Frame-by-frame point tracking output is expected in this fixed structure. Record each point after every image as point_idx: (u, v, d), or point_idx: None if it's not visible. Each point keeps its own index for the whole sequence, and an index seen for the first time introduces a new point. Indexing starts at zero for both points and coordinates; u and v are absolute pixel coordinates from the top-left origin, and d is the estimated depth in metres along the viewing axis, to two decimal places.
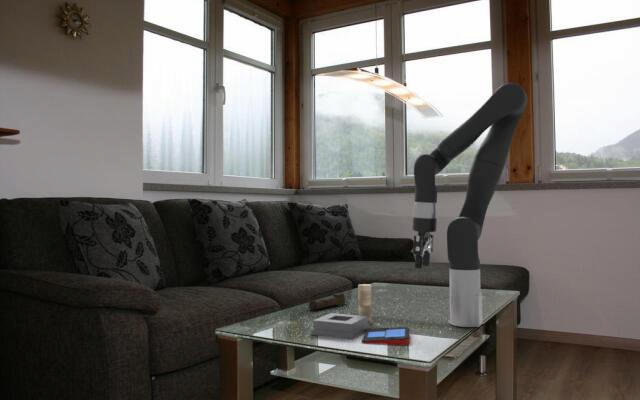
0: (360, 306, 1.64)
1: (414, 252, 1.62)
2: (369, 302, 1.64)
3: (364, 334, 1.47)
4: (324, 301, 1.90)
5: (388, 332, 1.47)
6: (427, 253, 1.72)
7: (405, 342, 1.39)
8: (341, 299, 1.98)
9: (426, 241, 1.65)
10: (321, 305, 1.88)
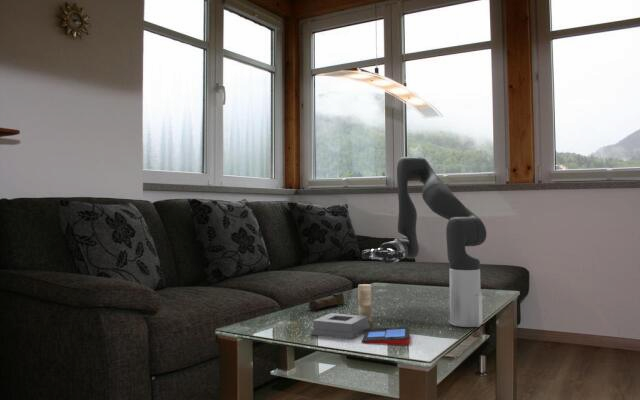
0: (360, 306, 1.64)
1: None
2: (369, 302, 1.64)
3: (364, 334, 1.47)
4: (324, 301, 1.90)
5: (388, 332, 1.47)
6: None
7: (405, 342, 1.39)
8: (340, 299, 1.98)
9: (378, 249, 1.84)
10: (321, 305, 1.88)
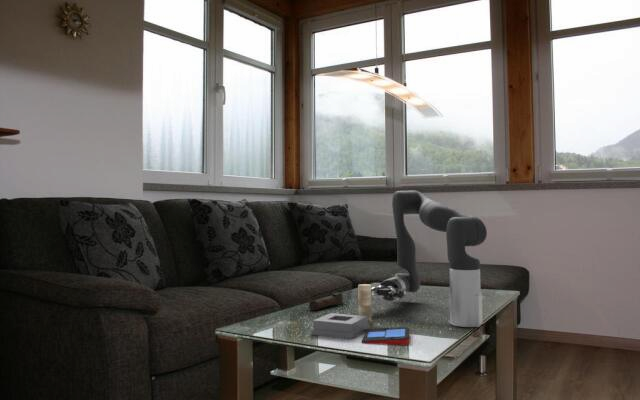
0: (360, 306, 1.64)
1: None
2: (369, 302, 1.64)
3: (364, 334, 1.47)
4: (324, 301, 1.90)
5: (388, 332, 1.47)
6: None
7: (405, 342, 1.39)
8: (339, 299, 1.98)
9: (378, 286, 1.84)
10: (321, 305, 1.88)
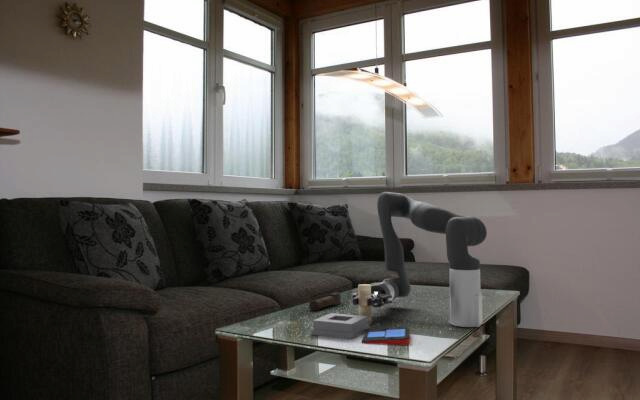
0: (360, 306, 1.64)
1: None
2: None
3: (364, 334, 1.47)
4: (324, 301, 1.90)
5: (388, 332, 1.47)
6: None
7: (405, 342, 1.39)
8: (338, 299, 1.99)
9: None
10: (321, 305, 1.89)
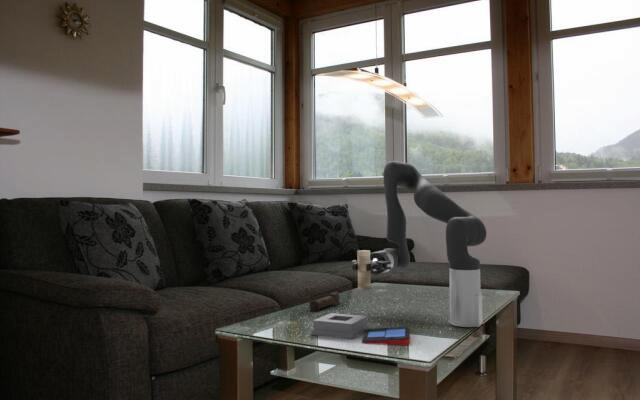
0: (359, 271, 1.64)
1: None
2: None
3: (364, 334, 1.47)
4: (324, 301, 1.90)
5: (388, 332, 1.47)
6: None
7: (405, 342, 1.39)
8: (337, 298, 1.99)
9: None
10: (321, 305, 1.89)
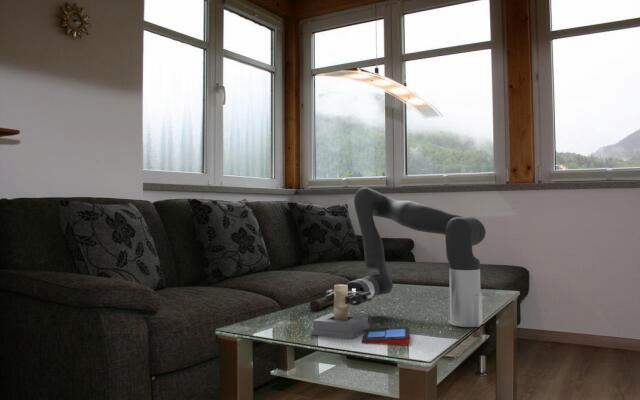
0: (336, 308, 1.53)
1: None
2: (345, 304, 1.53)
3: (364, 334, 1.47)
4: (323, 301, 1.90)
5: (388, 332, 1.47)
6: None
7: (405, 342, 1.39)
8: None
9: None
10: (322, 305, 1.89)
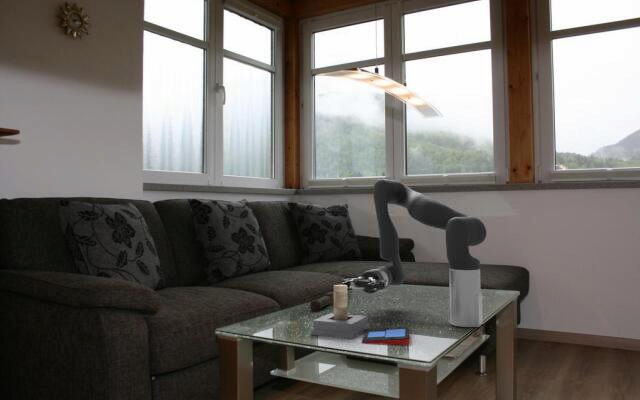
0: (335, 308, 1.53)
1: None
2: (345, 304, 1.52)
3: (364, 334, 1.47)
4: (323, 301, 1.91)
5: (388, 332, 1.47)
6: None
7: (405, 342, 1.39)
8: (333, 298, 2.00)
9: (358, 278, 1.72)
10: (322, 305, 1.89)
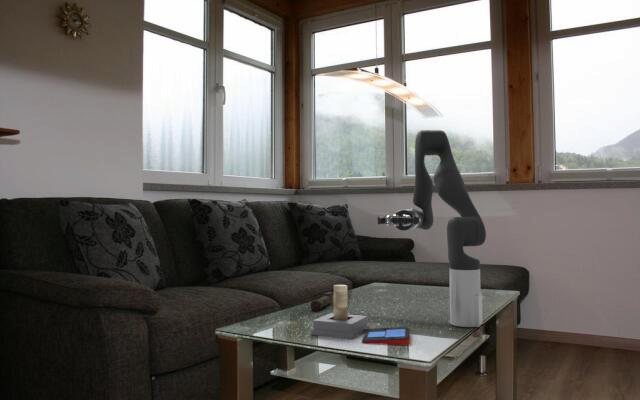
0: (335, 308, 1.53)
1: None
2: (345, 304, 1.52)
3: (364, 334, 1.47)
4: (323, 301, 1.91)
5: (388, 332, 1.47)
6: None
7: (405, 342, 1.39)
8: (331, 298, 2.00)
9: None
10: (322, 305, 1.89)
